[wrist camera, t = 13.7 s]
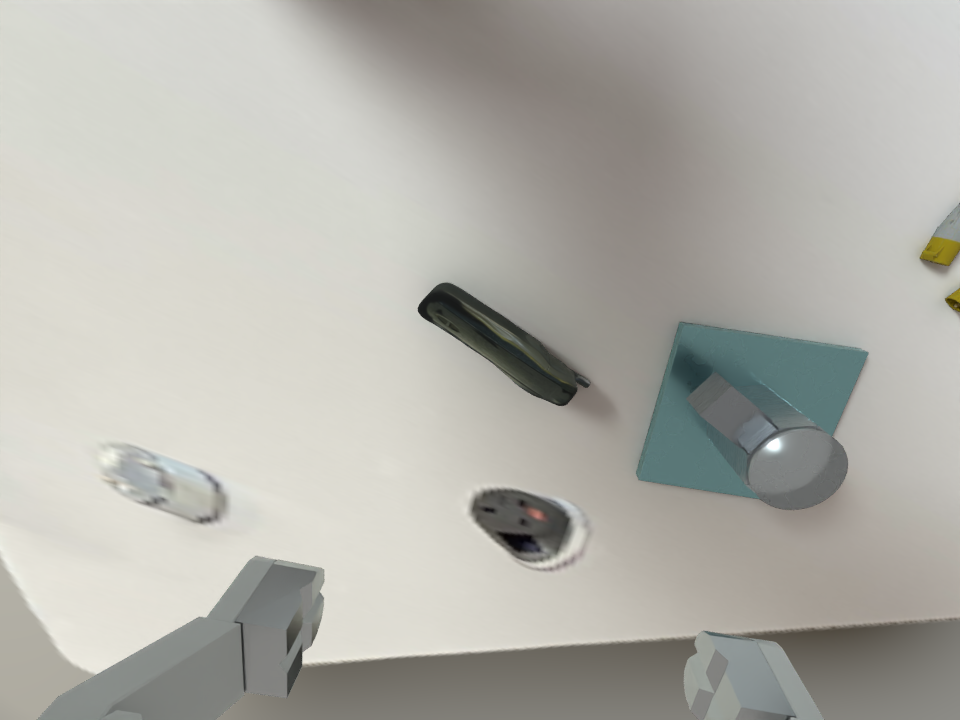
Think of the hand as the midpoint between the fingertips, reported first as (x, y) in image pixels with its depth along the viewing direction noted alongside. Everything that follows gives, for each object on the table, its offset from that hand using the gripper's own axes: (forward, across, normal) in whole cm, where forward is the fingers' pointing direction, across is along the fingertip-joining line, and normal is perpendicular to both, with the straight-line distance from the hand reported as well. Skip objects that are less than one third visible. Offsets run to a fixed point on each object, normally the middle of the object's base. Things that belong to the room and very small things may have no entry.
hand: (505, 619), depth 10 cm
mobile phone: (+30, 0, +3) cm, 30 cm away
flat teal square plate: (+29, -20, +6) cm, 36 cm away
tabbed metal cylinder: (+28, -18, +5) cm, 34 cm away
